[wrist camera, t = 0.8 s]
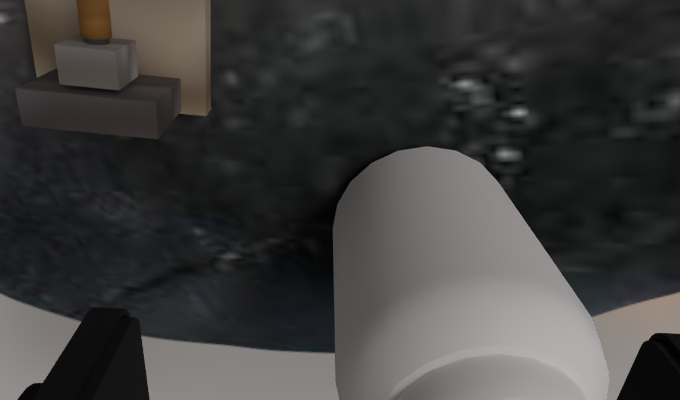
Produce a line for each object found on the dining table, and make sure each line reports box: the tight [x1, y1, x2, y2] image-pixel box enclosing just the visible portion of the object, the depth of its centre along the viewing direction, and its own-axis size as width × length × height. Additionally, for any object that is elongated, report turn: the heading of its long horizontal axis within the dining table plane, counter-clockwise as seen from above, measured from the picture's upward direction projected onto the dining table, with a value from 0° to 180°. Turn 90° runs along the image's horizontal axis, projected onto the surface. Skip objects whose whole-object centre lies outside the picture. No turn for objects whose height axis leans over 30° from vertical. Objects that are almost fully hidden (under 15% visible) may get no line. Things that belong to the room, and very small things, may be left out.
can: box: [333, 146, 610, 400], centre depth 29 cm, size 12×12×20 cm
